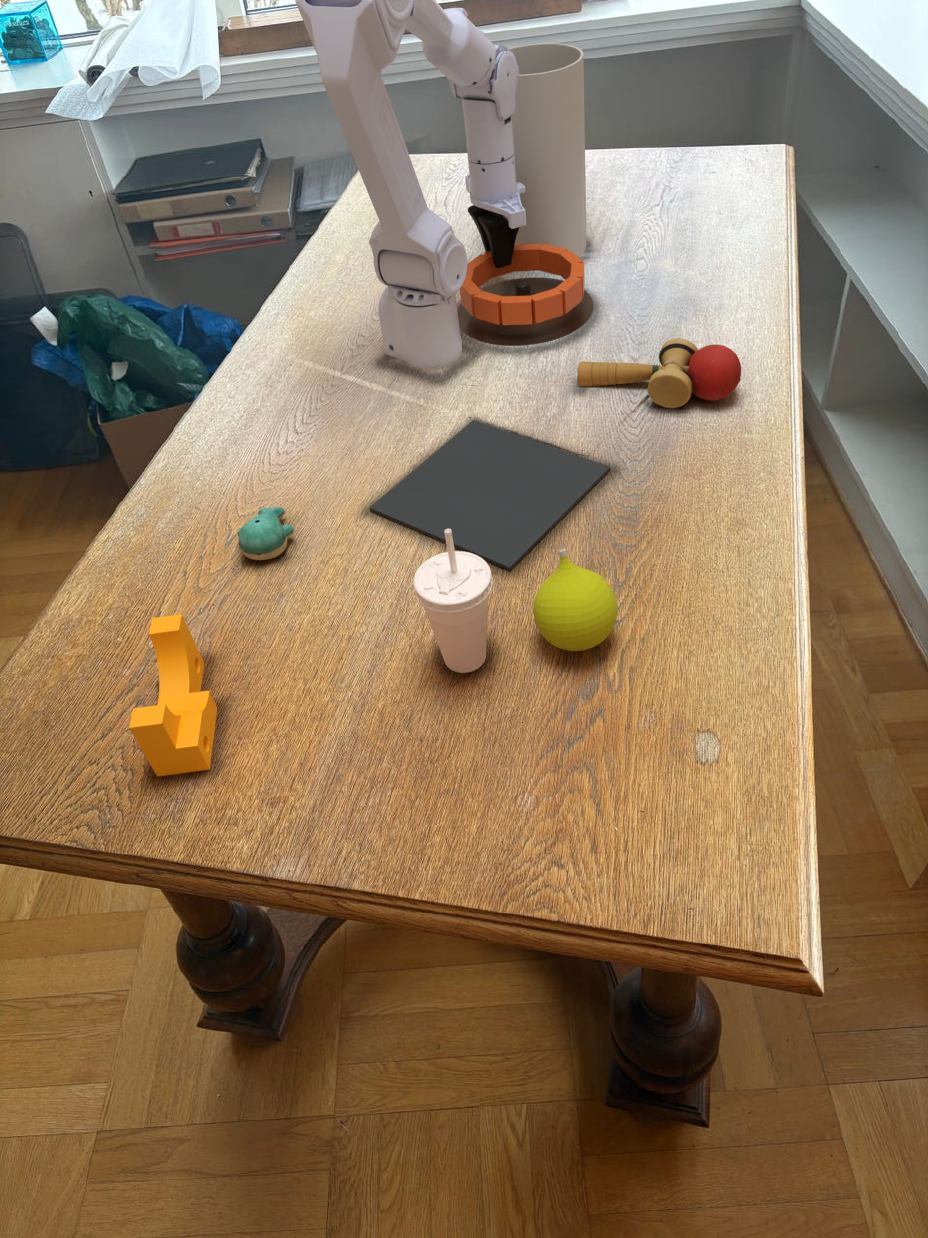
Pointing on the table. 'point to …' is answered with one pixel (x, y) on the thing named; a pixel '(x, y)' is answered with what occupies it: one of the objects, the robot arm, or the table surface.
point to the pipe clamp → (176, 704)
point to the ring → (524, 307)
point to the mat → (491, 492)
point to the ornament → (574, 607)
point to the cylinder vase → (551, 145)
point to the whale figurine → (264, 535)
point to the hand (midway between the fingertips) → (500, 262)
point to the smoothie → (456, 604)
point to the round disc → (530, 332)
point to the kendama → (673, 373)
